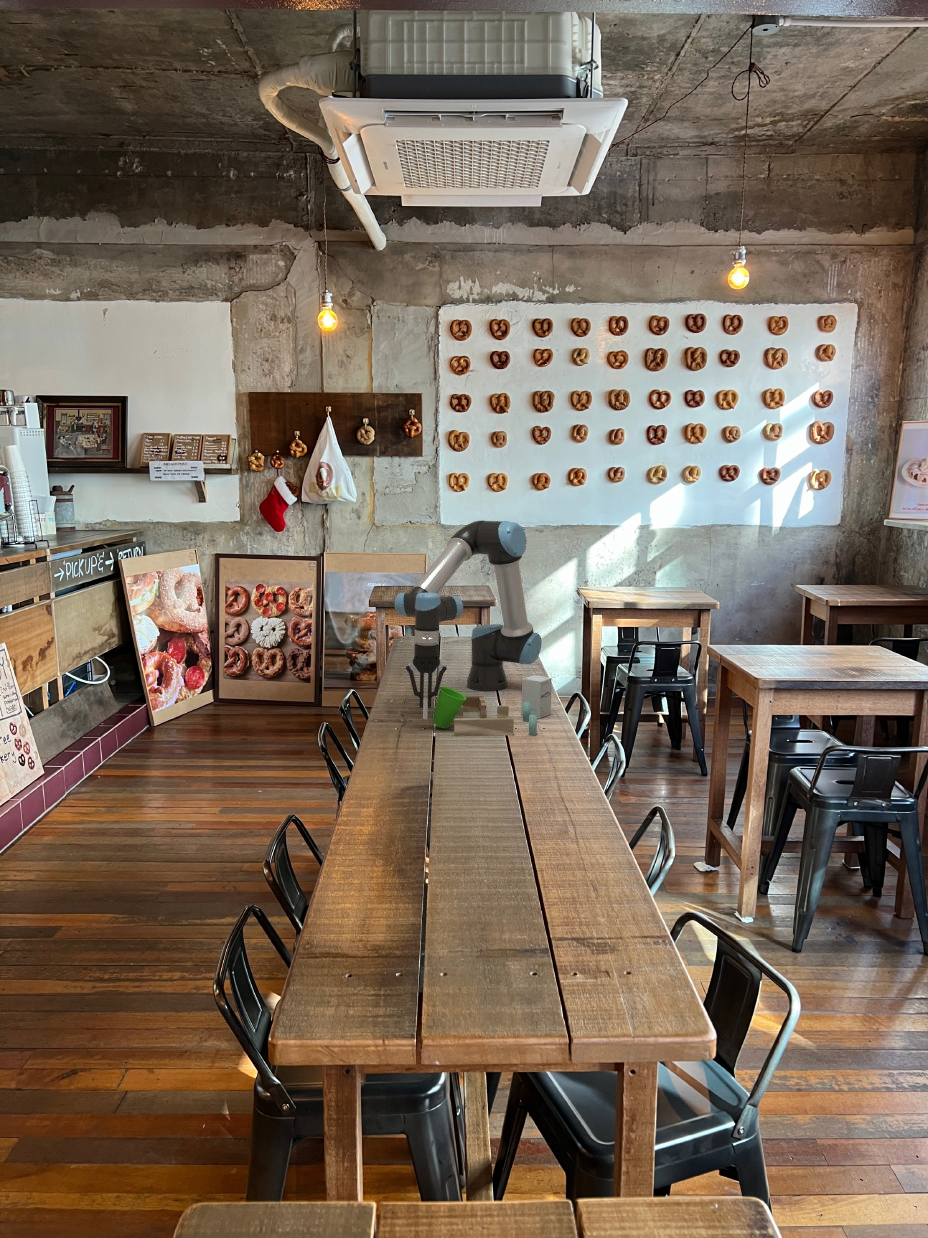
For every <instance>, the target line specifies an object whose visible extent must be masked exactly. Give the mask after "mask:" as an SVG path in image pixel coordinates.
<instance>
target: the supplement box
mask: <svg viewBox="0 0 928 1238" xmlns="http://www.w3.org/2000/svg"><path fill="white" fill-rule="evenodd" d="M523 702H530V703H531V708H530V715H532V714H534V715H537V720H540V719H542V718H543V717H547V716H550V715H551V714H552V677H548V676H543V675H535V674H534V675H530V676H527V677H524V678H521V705H520V706H521V707H520V709H521V710H520V713H521V715H520V716H522V717H523Z"/></svg>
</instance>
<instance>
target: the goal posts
mask: <svg viewBox="0 0 928 1238" xmlns="http://www.w3.org/2000/svg"><path fill="white" fill-rule="evenodd" d="M530 708H531V703H530V702H523V716H522V722H525V723H526V722H527V723H528V736H533V737H534V736H535V737H536V736H537V735H538V733H537V731H538V730H537V729H538V719H537V715H534V714H532V715H530Z"/></svg>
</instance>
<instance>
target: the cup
mask: <svg viewBox="0 0 928 1238" xmlns="http://www.w3.org/2000/svg"><path fill="white" fill-rule="evenodd" d="M438 693H439V694H438V697H437V701H436V705H435V706H436V707H435V710H434V713H433V717H432V724H433V725H435V726H437V727H438V728H442V729H448V728H449V727H450V725H451V723H452V720H453V718H454V717H455V715H456V714H457V712H458V710H459V709H460V707H461V706H462V704H463V702H464V701H465V700H466V697H465V696H466V695H465V694H463V693H461V692H459V691H458V690H455V689H453V688H450V687H446V686H440V687H439V692H438Z"/></svg>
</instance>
